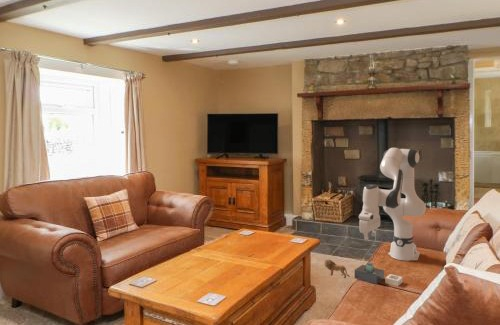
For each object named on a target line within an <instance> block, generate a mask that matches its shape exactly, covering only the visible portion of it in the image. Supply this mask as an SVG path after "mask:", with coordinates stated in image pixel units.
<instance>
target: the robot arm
mask: <svg viewBox="0 0 500 325" xmlns="http://www.w3.org/2000/svg"><path fill="white" fill-rule="evenodd" d="M419 162H420V153H419V151H418V150H417V149H415V148H414V149H413V148H411V149H410V148H398V147H390V148H388V149H387V150H385V151H384V152H383V154H382V160H381V162H380V164H379V169H380V172H381V173H382V175H384V176H385V177H386V178H388V179H391V180H393V187H392V189H382V188H379V185H378V184H376V183H375V184H374V183H371V184H366V185H365V186H364V187H363V190H362V202H363V203H362V204H363V205H362V210H361V212H360V213H359V215H358V219H359V224H358V225H359V227H358V228H359V233H361V234H363V237H364V238H363V239H364V241H368V240H369V233H370V232H371V231H372V232H371V237H375V236H376V235H377V234H376V233H377V229H378V228H380V227H381V215H380V208H379V207H382V209H383V211H384V212H385V213H386V214H387V215H388V216H389V217H390V219H391V220H392V222H393V231H394V232H393V237H392V238H393V240H392V242H391V243H390V250H389V252H387V255H389V256H391V258H393V259H394V260H398V261H407V262H409V261H418V260H419V258H420V255H421V252H420V251H417V245H416V244H415V242H414V239H415V235H413V228H414V227H413V224H412V222H410V221H408V220H406V219H405V218H404V217H403V216H406V217H407V216H408V217H420V216H421V217H422V216H424V215H425V213H426V210H427V206H426V204H425V201H423V200H422V199H421V198H420V197H419V196H418V194H417V193H416V190H415V188H416V186H415V167H416V166H418V164H419ZM402 194H403V195H405V198H404V197H403V198H401V197H402Z"/></svg>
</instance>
